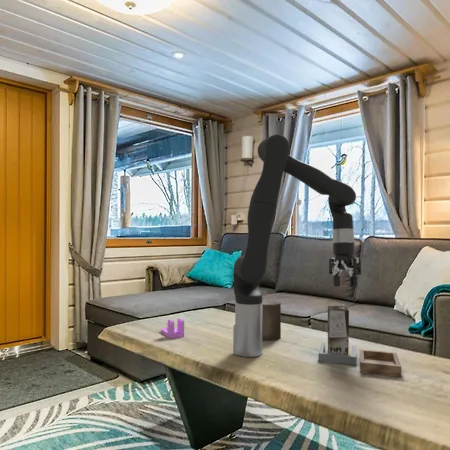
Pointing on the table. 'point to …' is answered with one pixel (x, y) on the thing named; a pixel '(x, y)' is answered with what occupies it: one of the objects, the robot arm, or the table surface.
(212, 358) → the table surface
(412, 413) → the table surface
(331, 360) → the bay
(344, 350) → the coffee box
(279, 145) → the robot arm
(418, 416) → the table surface
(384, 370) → the tray
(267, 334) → the pillar candle
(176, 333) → the bracket
